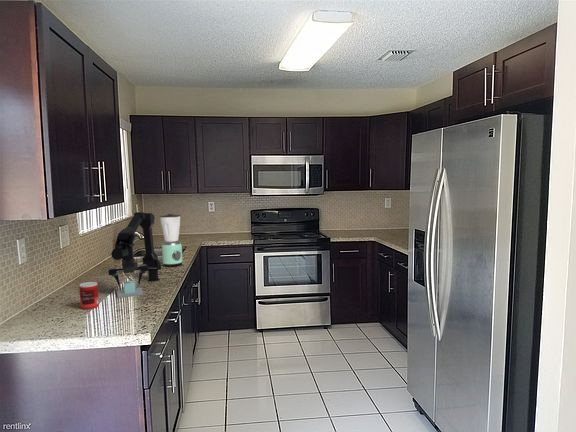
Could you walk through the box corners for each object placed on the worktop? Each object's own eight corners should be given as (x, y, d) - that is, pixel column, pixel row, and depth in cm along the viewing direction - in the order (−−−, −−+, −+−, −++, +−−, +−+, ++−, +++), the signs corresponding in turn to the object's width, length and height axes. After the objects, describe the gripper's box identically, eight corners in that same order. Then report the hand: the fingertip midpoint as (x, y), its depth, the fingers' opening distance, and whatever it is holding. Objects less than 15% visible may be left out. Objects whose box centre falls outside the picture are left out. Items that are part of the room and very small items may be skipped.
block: (124, 291, 211) (123, 281, 210) (134, 289, 213) (134, 280, 212) (124, 293, 206) (124, 283, 206) (135, 292, 208) (134, 282, 208)
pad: (117, 292, 213) (117, 290, 213) (141, 289, 218) (141, 287, 217) (117, 298, 202) (117, 296, 202) (143, 294, 207) (143, 292, 207)
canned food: (94, 303, 194) (92, 280, 193) (102, 306, 189) (100, 283, 188) (77, 307, 188) (75, 284, 187) (85, 310, 183) (83, 286, 182)
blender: (188, 265, 276) (185, 214, 273) (169, 268, 267) (166, 215, 264) (174, 261, 290) (171, 212, 287) (156, 264, 281) (153, 214, 278)
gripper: (107, 260, 197) (109, 292, 198) (148, 256, 204) (149, 287, 206) (107, 257, 207) (109, 287, 208) (146, 253, 214) (147, 282, 216)
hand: (129, 286), depth 209 cm, fingers open, 9 cm apart
